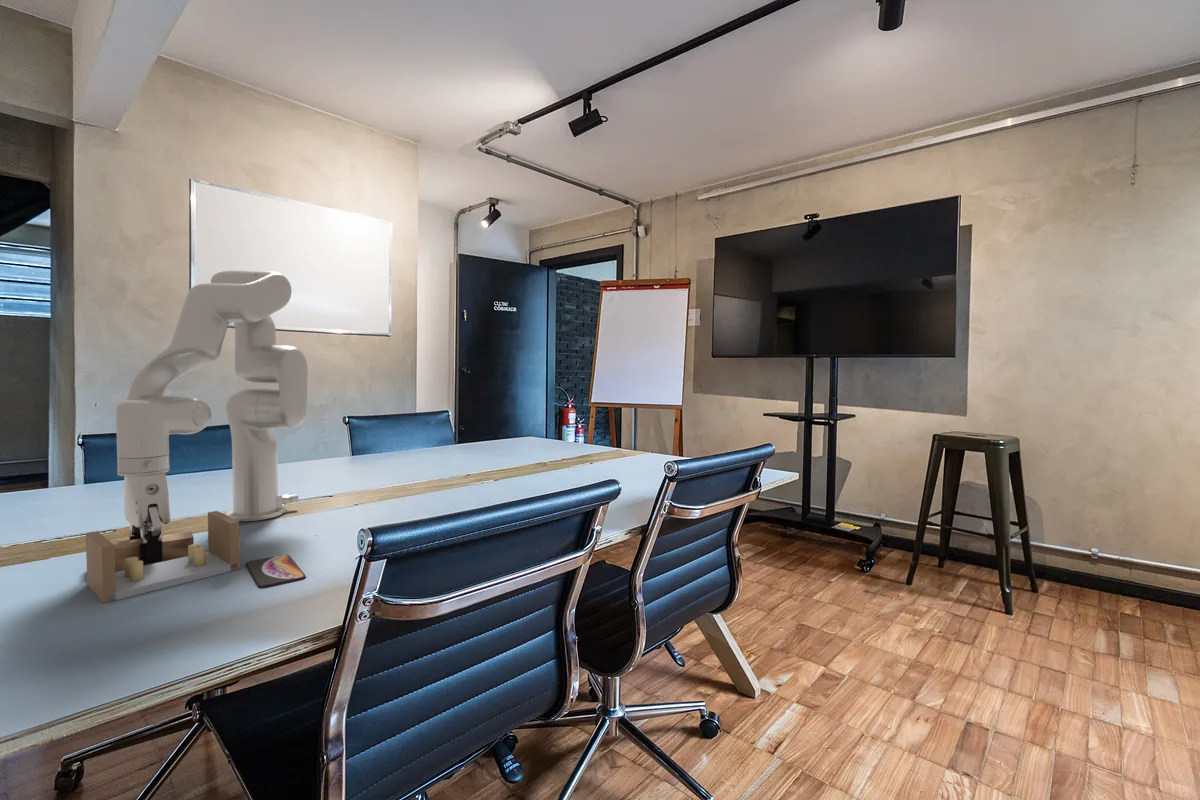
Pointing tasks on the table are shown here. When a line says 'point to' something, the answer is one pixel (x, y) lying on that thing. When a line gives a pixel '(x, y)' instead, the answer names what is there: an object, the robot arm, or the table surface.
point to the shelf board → (171, 548)
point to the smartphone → (274, 571)
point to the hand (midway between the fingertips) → (146, 557)
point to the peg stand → (162, 563)
